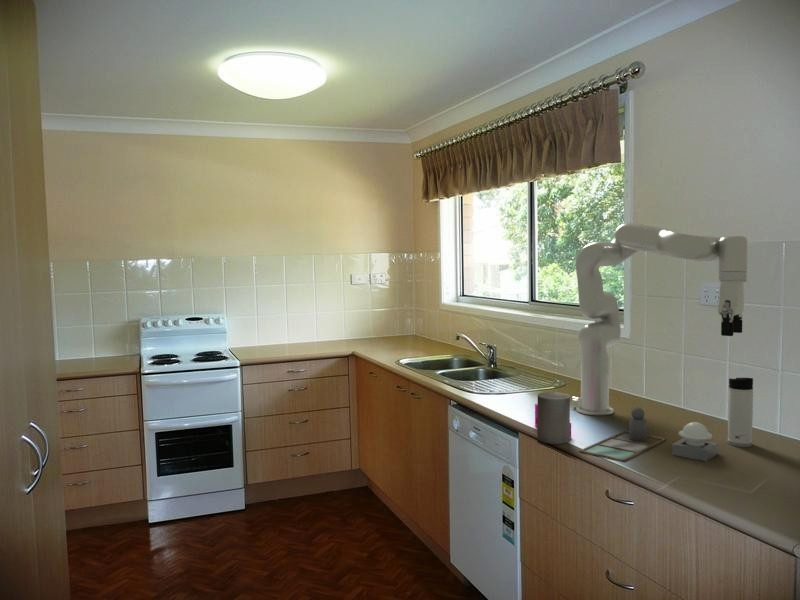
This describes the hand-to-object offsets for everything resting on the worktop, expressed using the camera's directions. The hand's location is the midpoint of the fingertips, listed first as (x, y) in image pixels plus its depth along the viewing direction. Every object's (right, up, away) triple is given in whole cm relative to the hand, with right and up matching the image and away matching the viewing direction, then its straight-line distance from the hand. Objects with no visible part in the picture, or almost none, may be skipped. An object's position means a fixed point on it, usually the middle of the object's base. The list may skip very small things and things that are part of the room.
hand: (731, 334), depth 193 cm
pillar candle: (-53, -32, +1) cm, 63 cm away
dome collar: (-18, -33, -15) cm, 40 cm away
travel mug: (-1, -32, -7) cm, 33 cm away
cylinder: (-28, -32, 0) cm, 43 cm away
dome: (-18, -31, -15) cm, 39 cm away
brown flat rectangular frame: (-35, -32, -6) cm, 48 cm away
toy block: (-52, -32, +10) cm, 62 cm away
